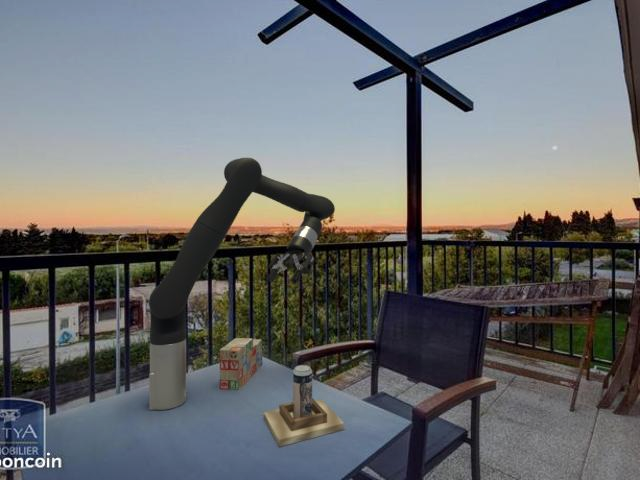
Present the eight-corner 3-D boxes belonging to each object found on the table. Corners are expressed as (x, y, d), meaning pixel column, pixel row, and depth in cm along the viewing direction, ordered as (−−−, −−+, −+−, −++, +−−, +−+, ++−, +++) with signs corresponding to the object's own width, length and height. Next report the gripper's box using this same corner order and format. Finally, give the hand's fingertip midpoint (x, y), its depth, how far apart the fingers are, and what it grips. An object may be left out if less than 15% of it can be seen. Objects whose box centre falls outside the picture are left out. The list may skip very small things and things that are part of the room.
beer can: (305, 424, 79) (305, 373, 79) (288, 418, 81) (289, 369, 81) (316, 415, 83) (316, 366, 83) (299, 410, 85) (300, 363, 85)
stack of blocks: (246, 364, 122) (246, 330, 122) (262, 365, 121) (262, 331, 121) (219, 389, 101) (219, 348, 101) (239, 391, 100) (238, 349, 100)
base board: (279, 446, 72) (279, 430, 72) (263, 418, 84) (263, 404, 84) (344, 429, 79) (344, 414, 79) (321, 405, 91) (321, 392, 91)
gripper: (280, 235, 111) (257, 272, 101) (316, 234, 104) (295, 274, 94) (289, 250, 116) (268, 287, 106) (325, 251, 108) (306, 291, 98)
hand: (281, 281), depth 100 cm, fingers open, 8 cm apart
